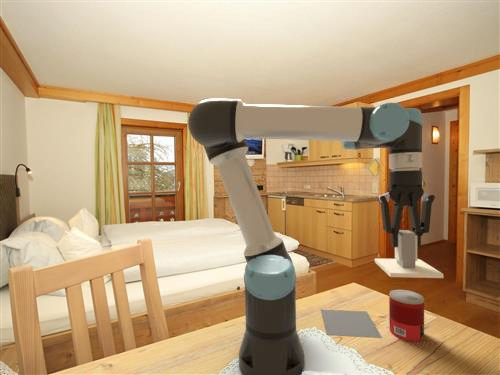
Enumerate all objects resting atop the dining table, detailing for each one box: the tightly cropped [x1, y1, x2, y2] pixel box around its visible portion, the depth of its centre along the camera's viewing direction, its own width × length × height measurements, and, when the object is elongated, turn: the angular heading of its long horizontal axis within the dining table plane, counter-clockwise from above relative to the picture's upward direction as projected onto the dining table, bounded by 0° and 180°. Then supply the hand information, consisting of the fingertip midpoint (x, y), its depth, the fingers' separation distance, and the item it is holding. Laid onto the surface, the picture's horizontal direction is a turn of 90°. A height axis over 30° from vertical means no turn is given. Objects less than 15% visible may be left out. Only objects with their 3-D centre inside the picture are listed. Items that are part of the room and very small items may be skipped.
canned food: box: [388, 289, 425, 343], centre depth 72 cm, size 8×8×11 cm
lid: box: [374, 229, 444, 279], centre depth 72 cm, size 12×12×10 cm
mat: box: [319, 309, 383, 339], centre depth 78 cm, size 14×14×1 cm
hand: (405, 259), depth 72 cm, fingers closed on lid, 3 cm apart
